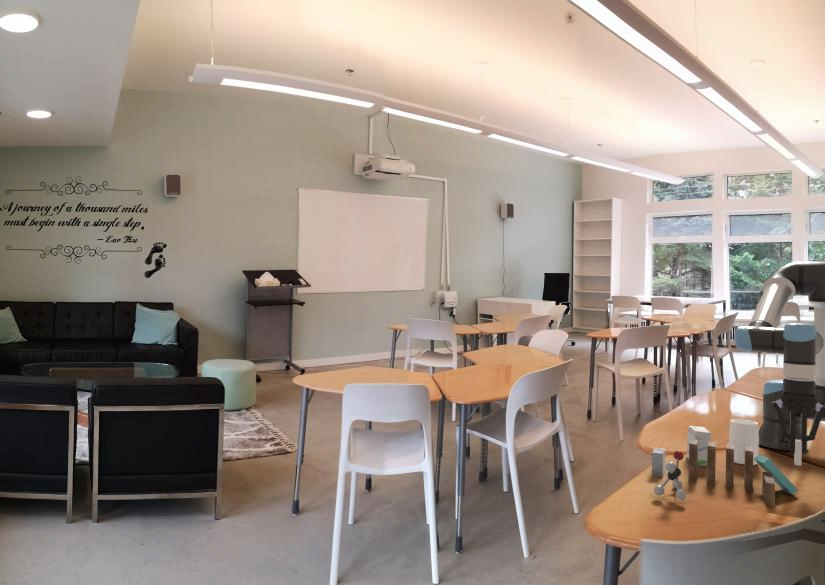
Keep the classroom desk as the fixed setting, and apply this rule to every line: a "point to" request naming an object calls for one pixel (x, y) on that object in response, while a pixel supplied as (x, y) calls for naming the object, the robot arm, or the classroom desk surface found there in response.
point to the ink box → (699, 442)
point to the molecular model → (673, 477)
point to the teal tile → (776, 474)
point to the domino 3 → (730, 465)
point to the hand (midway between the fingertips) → (797, 464)
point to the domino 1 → (693, 460)
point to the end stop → (658, 462)
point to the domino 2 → (711, 463)
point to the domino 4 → (748, 468)
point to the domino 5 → (768, 489)
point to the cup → (744, 438)
